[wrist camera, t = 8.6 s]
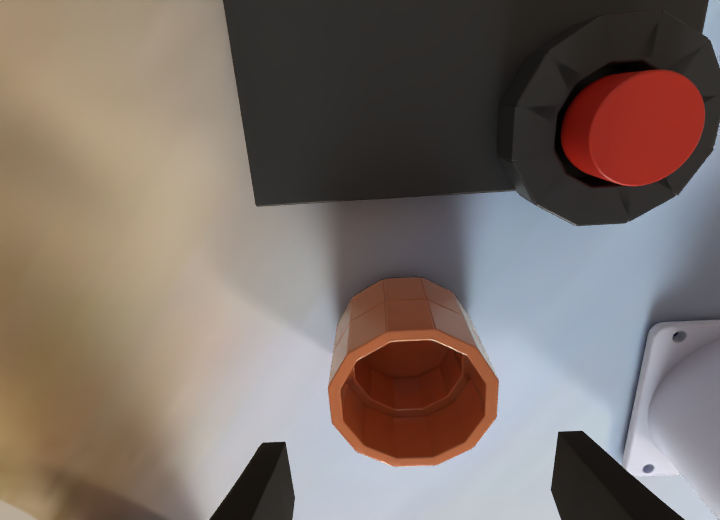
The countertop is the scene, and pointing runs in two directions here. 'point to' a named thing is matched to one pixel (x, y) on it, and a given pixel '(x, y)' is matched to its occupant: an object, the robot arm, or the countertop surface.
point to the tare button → (633, 126)
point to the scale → (451, 96)
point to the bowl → (410, 375)
